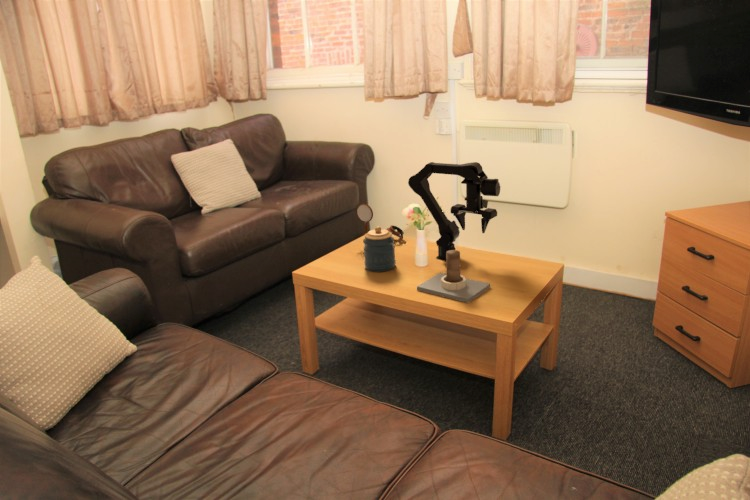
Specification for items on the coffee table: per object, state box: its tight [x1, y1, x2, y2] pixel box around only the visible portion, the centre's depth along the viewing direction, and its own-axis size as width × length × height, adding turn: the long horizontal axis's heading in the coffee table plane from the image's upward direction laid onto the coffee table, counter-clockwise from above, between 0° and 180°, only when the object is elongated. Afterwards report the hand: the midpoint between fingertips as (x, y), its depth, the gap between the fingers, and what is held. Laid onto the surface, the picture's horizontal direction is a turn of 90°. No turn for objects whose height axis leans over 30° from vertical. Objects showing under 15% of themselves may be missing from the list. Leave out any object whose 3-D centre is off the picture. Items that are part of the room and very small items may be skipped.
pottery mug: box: [385, 224, 404, 243], centre depth 275 cm, size 12×10×8 cm
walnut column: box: [445, 249, 461, 283], centre depth 218 cm, size 5×5×13 cm
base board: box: [416, 272, 491, 304], centre depth 220 cm, size 22×16×4 cm
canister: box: [362, 225, 397, 273], centre depth 243 cm, size 13×13×18 cm
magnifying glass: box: [356, 203, 374, 239], centre depth 269 cm, size 9×2×20 cm, turn 57°
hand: (473, 231), depth 242 cm, fingers open, 9 cm apart
